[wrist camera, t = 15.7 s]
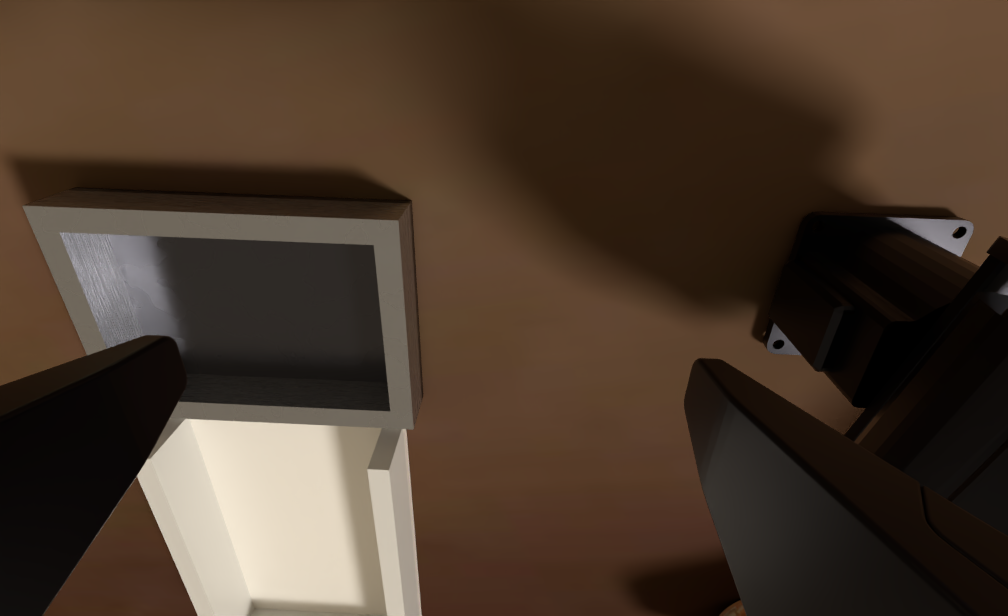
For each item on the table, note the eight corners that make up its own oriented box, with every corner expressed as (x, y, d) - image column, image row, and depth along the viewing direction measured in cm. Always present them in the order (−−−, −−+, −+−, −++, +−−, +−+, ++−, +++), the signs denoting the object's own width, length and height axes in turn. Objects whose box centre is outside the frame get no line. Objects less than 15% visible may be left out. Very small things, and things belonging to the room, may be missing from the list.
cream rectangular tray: (404, 409, 26) (388, 462, 23) (421, 616, 35) (411, 675, 32) (173, 399, 26) (125, 449, 23) (247, 607, 35) (219, 664, 32)
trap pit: (411, 200, 21) (398, 220, 19) (423, 395, 26) (413, 429, 23) (74, 187, 21) (22, 205, 19) (148, 383, 26) (113, 415, 24)
